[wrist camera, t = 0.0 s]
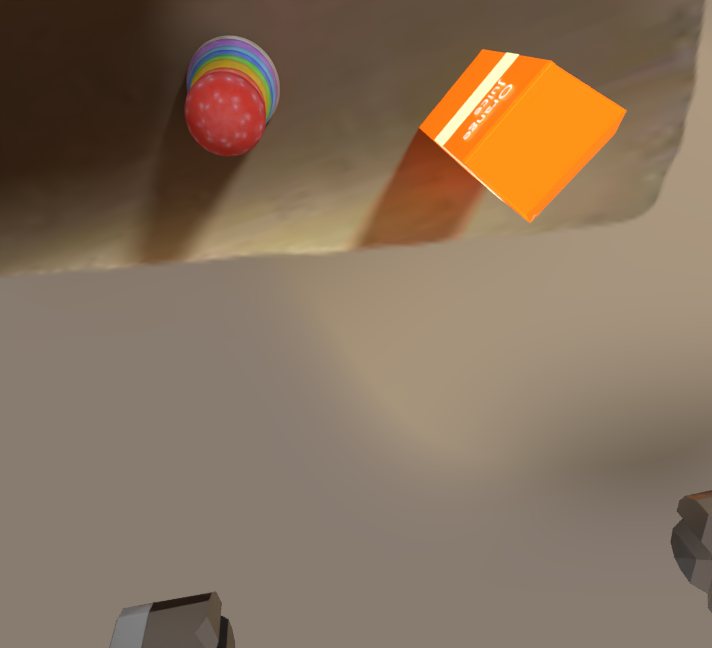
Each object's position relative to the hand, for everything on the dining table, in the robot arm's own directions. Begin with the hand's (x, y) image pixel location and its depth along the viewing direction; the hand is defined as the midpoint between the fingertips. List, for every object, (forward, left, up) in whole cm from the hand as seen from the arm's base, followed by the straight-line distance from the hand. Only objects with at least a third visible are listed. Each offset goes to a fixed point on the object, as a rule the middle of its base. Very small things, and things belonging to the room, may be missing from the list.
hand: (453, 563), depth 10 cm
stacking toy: (-4, -6, -48) cm, 49 cm away
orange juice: (+2, +16, -48) cm, 51 cm away
